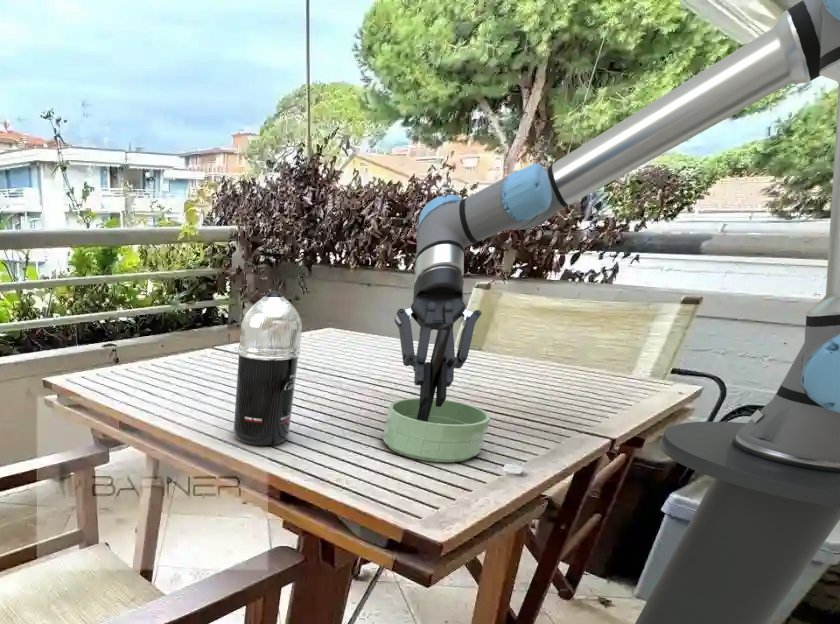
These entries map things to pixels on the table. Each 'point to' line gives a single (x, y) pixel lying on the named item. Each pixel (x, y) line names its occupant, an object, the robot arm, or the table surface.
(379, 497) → the table surface
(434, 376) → the grey disc on rod
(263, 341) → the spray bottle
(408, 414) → the bowl
